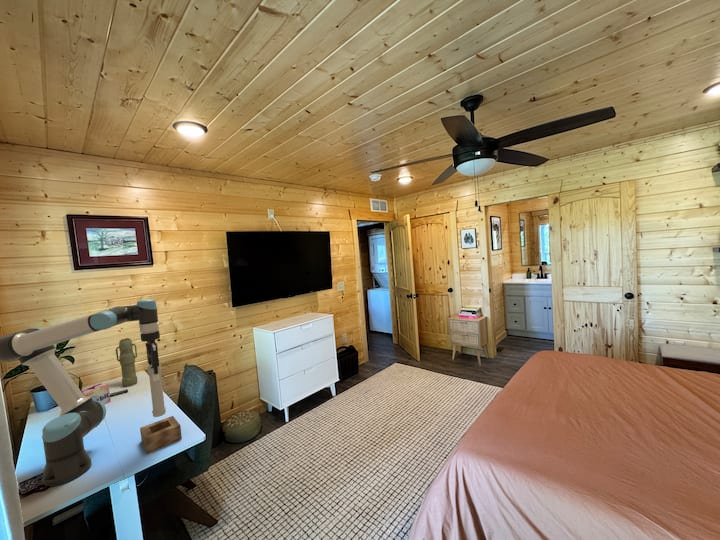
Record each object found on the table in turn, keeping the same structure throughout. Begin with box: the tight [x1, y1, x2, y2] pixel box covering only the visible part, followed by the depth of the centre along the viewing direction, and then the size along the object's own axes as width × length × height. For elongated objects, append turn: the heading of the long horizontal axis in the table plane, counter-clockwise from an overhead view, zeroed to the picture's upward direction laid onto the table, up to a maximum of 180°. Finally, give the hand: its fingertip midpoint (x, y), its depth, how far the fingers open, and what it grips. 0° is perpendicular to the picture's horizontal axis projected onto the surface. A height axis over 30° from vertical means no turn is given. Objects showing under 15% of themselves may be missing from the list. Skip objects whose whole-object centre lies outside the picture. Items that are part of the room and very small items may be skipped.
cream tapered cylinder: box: [146, 353, 167, 418], centre depth 147 cm, size 6×6×30 cm
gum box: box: [80, 383, 111, 406], centre depth 187 cm, size 22×7×13 cm, turn 172°
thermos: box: [115, 337, 138, 388], centre depth 221 cm, size 9×12×35 cm
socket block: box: [139, 415, 183, 454], centre depth 148 cm, size 14×14×7 cm
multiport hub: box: [109, 388, 129, 398], centre depth 207 cm, size 4×11×2 cm, turn 129°
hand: (155, 378), depth 146 cm, fingers closed on cream tapered cylinder, 5 cm apart
